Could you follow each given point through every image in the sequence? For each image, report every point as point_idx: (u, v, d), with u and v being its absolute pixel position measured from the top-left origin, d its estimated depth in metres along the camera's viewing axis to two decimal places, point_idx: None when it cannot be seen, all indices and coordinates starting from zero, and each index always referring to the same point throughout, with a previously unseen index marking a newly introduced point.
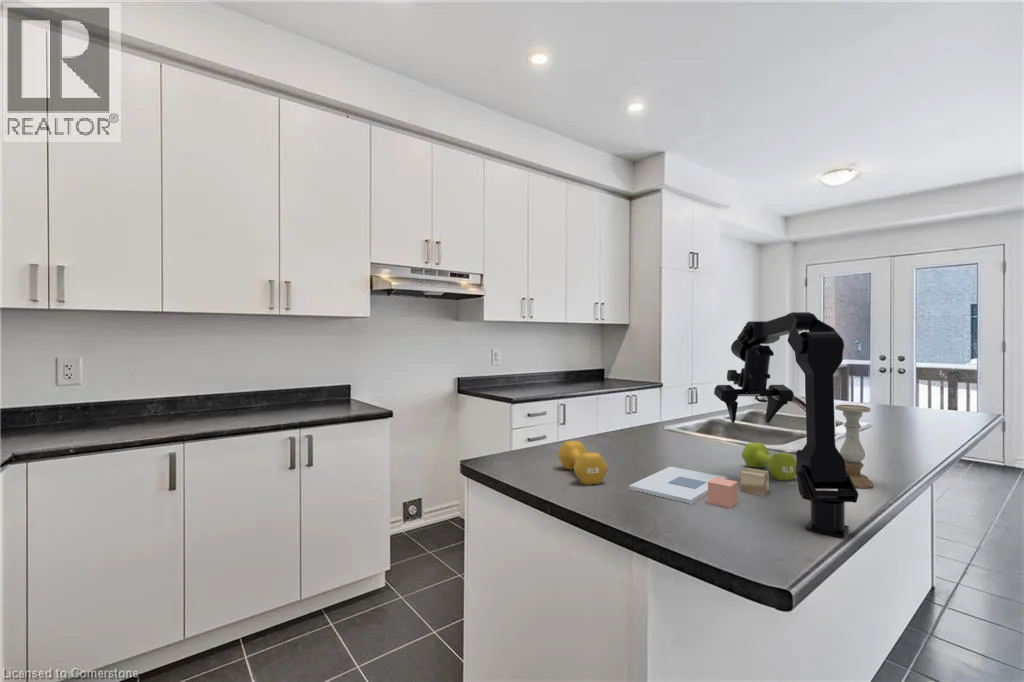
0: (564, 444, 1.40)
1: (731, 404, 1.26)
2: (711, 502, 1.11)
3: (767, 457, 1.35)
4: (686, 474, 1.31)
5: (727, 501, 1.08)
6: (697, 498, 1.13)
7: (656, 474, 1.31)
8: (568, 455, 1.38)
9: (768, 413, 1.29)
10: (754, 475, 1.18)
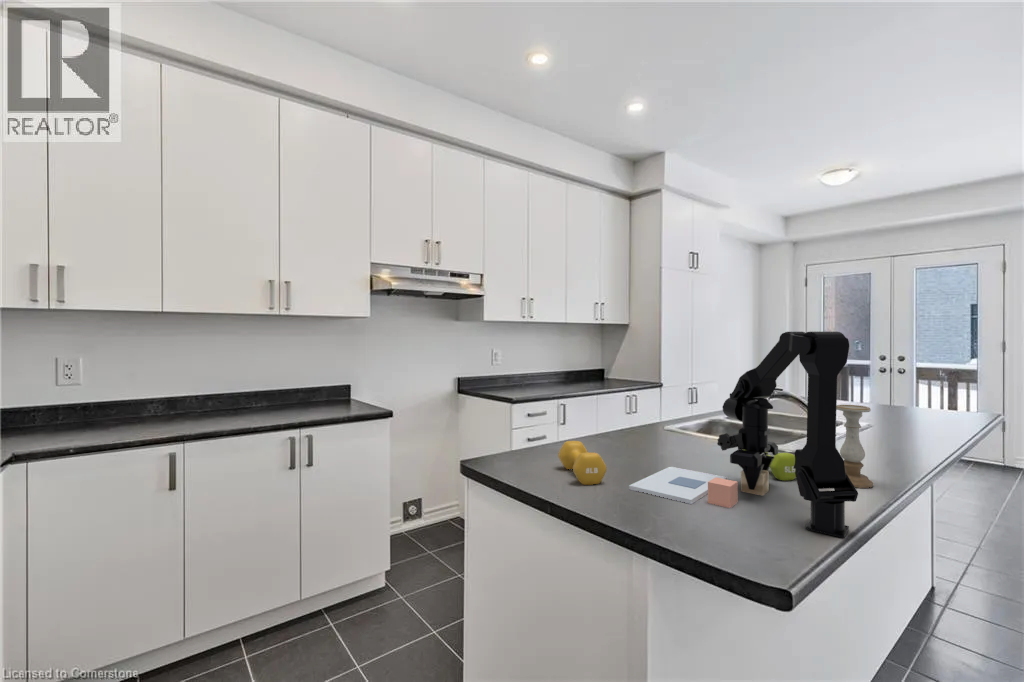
0: (565, 444, 1.40)
1: (761, 467, 1.14)
2: (711, 502, 1.11)
3: None
4: (686, 474, 1.31)
5: (727, 501, 1.08)
6: (697, 498, 1.13)
7: (656, 474, 1.31)
8: (569, 455, 1.38)
9: None
10: None
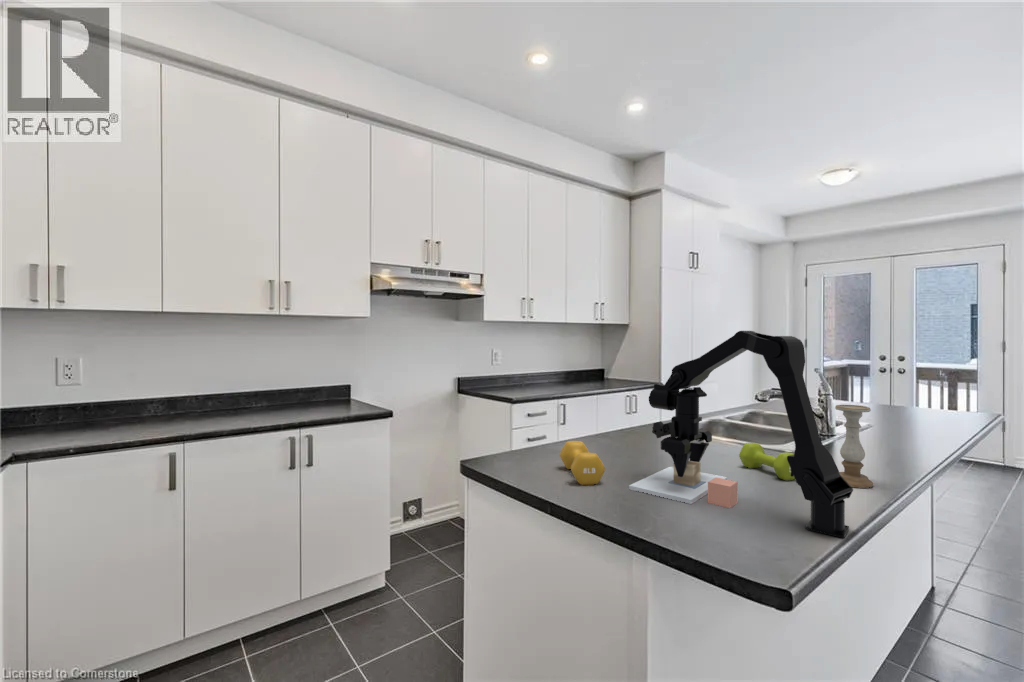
0: (566, 444, 1.40)
1: (688, 454, 1.17)
2: (711, 502, 1.11)
3: (769, 457, 1.35)
4: None
5: (727, 501, 1.08)
6: (697, 498, 1.13)
7: (656, 474, 1.31)
8: (569, 455, 1.38)
9: (694, 459, 1.26)
10: None
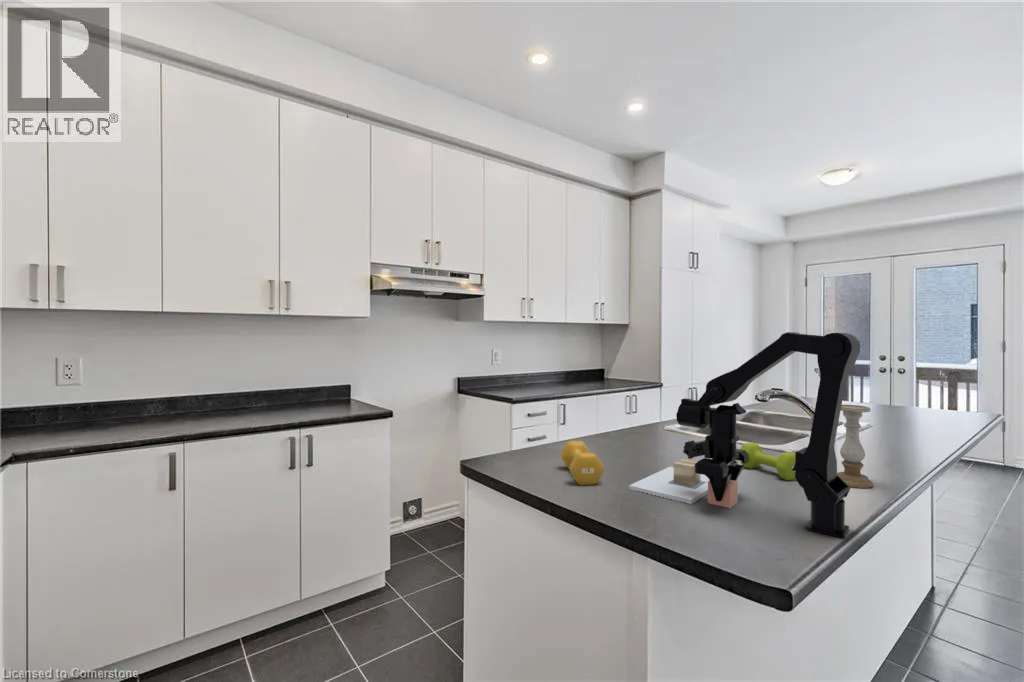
0: (566, 444, 1.40)
1: (728, 477, 1.06)
2: (711, 502, 1.11)
3: (769, 457, 1.35)
4: None
5: (727, 501, 1.08)
6: (697, 498, 1.13)
7: (656, 474, 1.31)
8: (570, 455, 1.38)
9: None
10: (685, 466, 1.21)
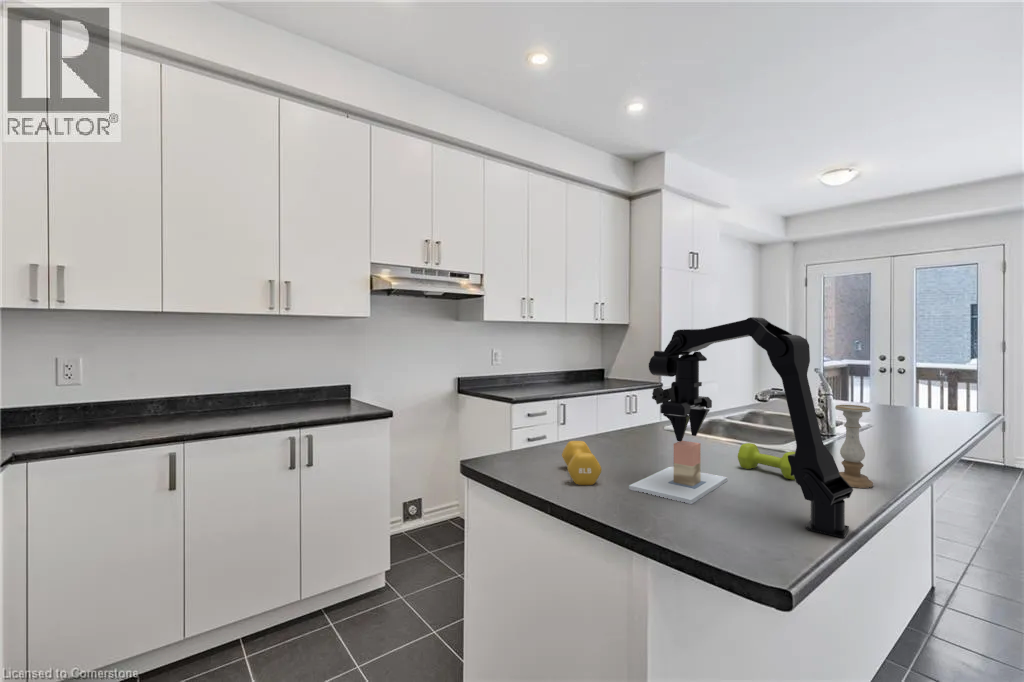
0: (568, 444, 1.41)
1: (687, 418, 1.16)
2: (676, 461, 1.23)
3: (770, 457, 1.35)
4: None
5: (690, 460, 1.20)
6: (697, 498, 1.13)
7: (656, 474, 1.31)
8: (570, 455, 1.38)
9: (695, 425, 1.27)
10: (685, 466, 1.21)
